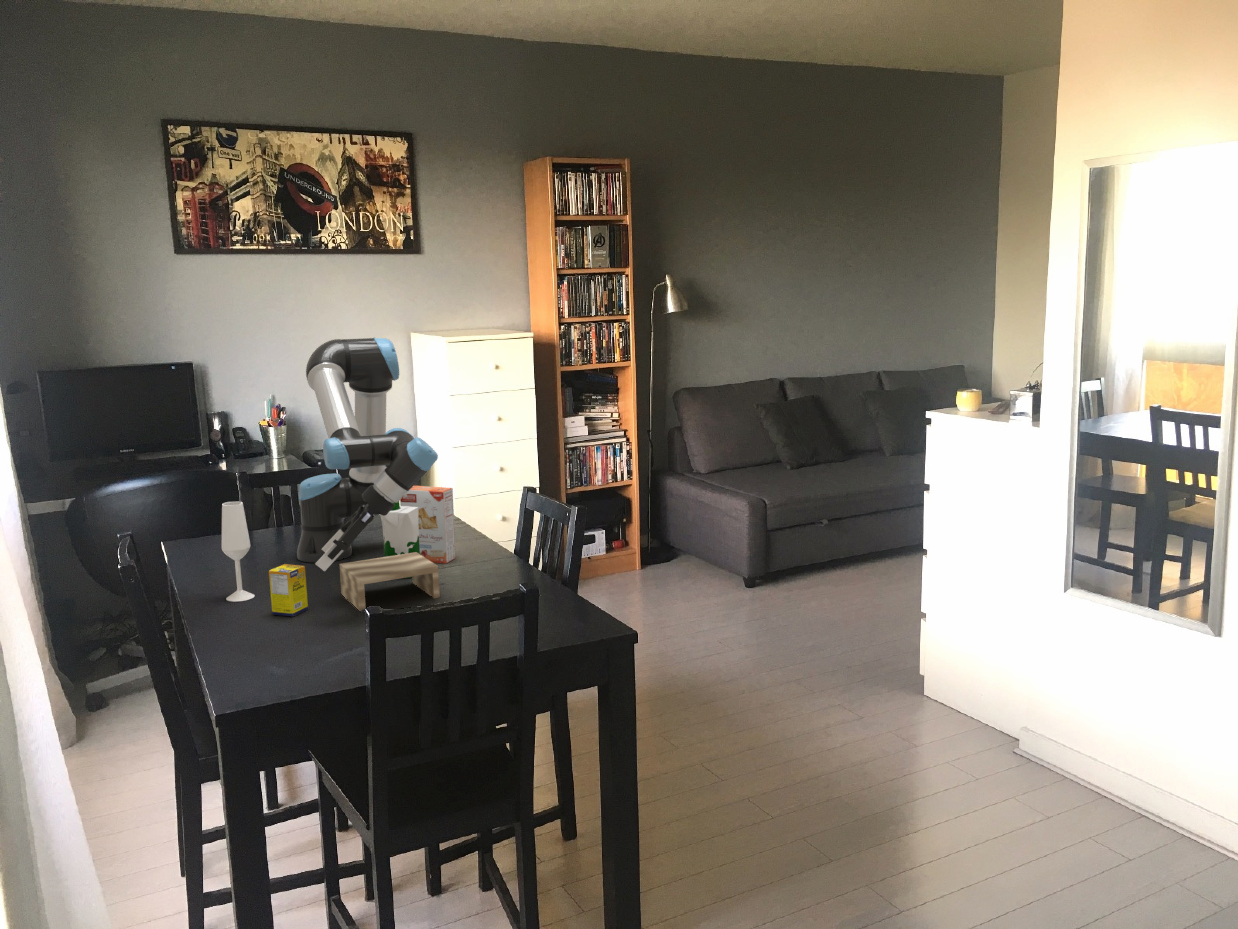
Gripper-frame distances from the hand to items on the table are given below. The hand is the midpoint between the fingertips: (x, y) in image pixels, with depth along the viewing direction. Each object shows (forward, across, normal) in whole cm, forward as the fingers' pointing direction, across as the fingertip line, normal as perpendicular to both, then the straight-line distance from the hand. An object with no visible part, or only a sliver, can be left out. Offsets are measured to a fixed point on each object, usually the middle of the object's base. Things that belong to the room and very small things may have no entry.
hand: (322, 559), depth 229 cm
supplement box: (+15, +1, -3) cm, 15 cm away
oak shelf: (-1, +8, -19) cm, 21 cm away
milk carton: (-3, +27, -21) cm, 34 cm away
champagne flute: (+25, +16, +7) cm, 30 cm away
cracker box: (-8, +40, -26) cm, 49 cm away
